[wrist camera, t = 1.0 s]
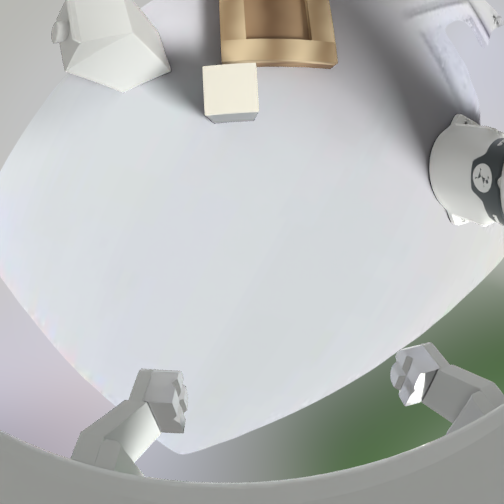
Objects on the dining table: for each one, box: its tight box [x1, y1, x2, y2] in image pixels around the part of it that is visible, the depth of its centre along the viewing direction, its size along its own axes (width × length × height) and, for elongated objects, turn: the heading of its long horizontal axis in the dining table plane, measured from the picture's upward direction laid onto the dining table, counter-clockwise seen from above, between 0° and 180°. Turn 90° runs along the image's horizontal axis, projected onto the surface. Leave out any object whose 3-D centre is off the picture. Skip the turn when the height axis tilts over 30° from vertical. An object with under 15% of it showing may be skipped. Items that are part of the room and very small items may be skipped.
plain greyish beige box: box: [202, 63, 259, 124], centre depth 28 cm, size 5×5×10 cm
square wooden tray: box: [219, 0, 338, 69], centre depth 27 cm, size 14×14×3 cm
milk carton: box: [51, 0, 171, 93], centre depth 20 cm, size 7×7×19 cm
